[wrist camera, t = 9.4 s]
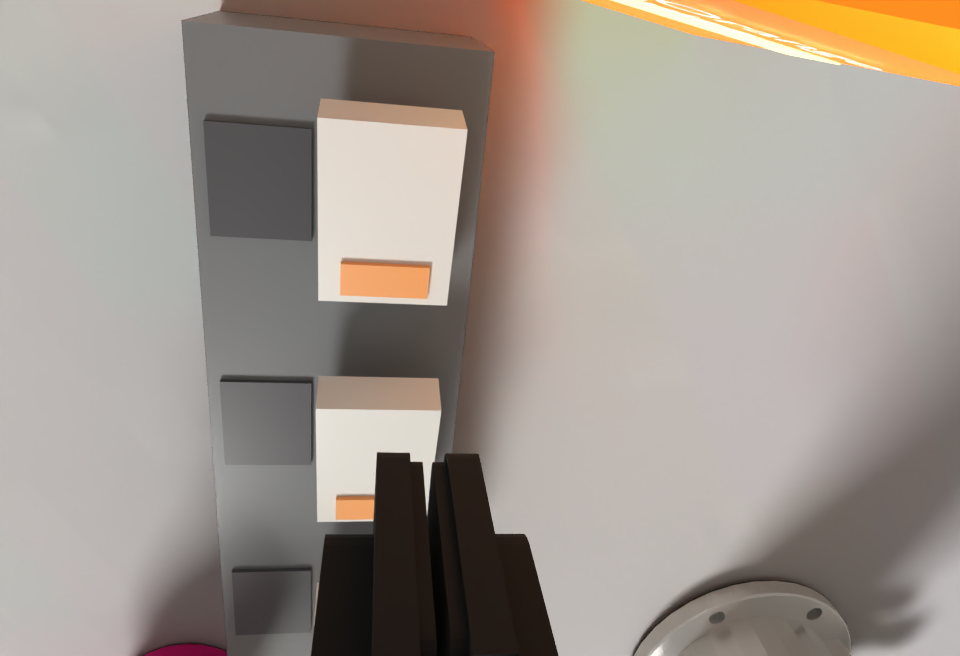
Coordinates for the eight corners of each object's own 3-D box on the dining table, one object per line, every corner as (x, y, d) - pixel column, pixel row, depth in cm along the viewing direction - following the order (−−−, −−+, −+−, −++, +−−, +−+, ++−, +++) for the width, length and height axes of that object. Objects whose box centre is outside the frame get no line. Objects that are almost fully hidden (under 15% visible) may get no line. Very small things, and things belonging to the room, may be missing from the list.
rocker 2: (438, 378, 22) (441, 414, 21) (424, 487, 25) (426, 524, 24) (318, 376, 21) (315, 412, 20) (320, 488, 24) (317, 525, 23)
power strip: (471, 36, 24) (497, 53, 19) (413, 662, 37) (420, 768, 32) (219, 10, 22) (176, 21, 17) (252, 669, 35) (233, 781, 30)
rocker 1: (461, 110, 19) (468, 131, 17) (442, 279, 21) (447, 308, 20) (320, 98, 18) (316, 119, 17) (321, 274, 21) (318, 303, 20)
